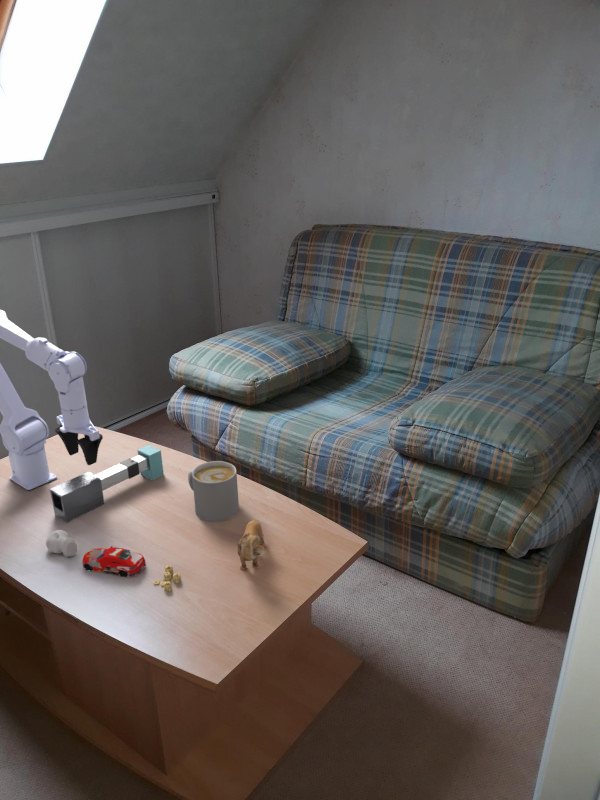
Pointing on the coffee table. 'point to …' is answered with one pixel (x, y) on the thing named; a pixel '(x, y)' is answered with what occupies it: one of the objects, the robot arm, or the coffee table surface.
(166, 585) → the gold nuggets
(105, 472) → the metal square rod
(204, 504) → the coffee mug
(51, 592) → the coffee table surface
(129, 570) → the race car
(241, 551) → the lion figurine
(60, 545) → the pale two-lobed sculpture
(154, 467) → the teal socket
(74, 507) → the graphite sleeve
